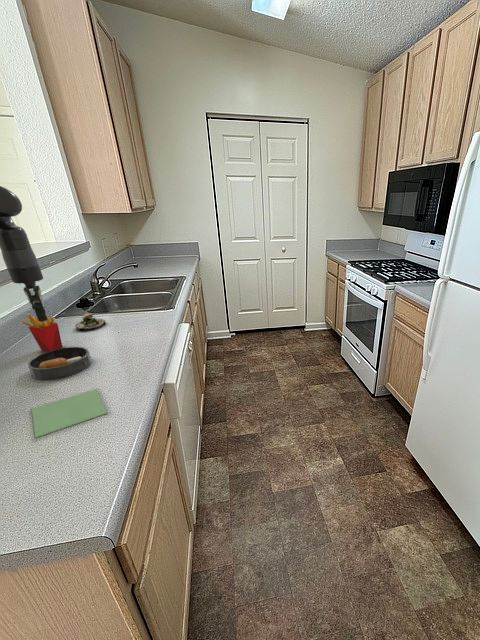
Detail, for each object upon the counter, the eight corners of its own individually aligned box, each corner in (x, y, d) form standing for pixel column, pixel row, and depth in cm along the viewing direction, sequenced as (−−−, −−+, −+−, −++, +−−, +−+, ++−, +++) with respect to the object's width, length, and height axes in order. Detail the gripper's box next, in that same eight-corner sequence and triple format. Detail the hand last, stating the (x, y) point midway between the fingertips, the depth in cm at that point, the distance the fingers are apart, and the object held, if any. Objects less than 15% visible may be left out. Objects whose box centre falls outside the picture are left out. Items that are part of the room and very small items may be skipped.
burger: (76, 333, 143) (70, 317, 139) (75, 325, 152) (70, 310, 148) (107, 327, 148) (103, 311, 145) (104, 320, 157) (100, 305, 154)
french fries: (53, 344, 133) (39, 308, 126) (69, 346, 130) (56, 310, 124) (32, 353, 125) (16, 315, 118) (49, 356, 123) (33, 317, 116)
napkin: (32, 409, 92) (31, 408, 92) (96, 389, 101) (96, 388, 101) (35, 438, 81) (35, 437, 81) (107, 413, 90) (107, 412, 90)
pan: (31, 366, 116) (26, 356, 114) (87, 352, 125) (83, 342, 123) (34, 385, 104) (29, 374, 102) (95, 369, 113) (92, 358, 111)
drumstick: (42, 375, 110) (40, 374, 107) (37, 363, 110) (36, 362, 106) (84, 364, 117) (84, 363, 114) (80, 353, 117) (80, 352, 113)
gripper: (6, 263, 100) (27, 314, 107) (5, 270, 90) (28, 326, 97) (37, 260, 104) (54, 309, 111) (39, 266, 94) (58, 320, 101)
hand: (42, 317), depth 104 cm, fingers open, 8 cm apart
